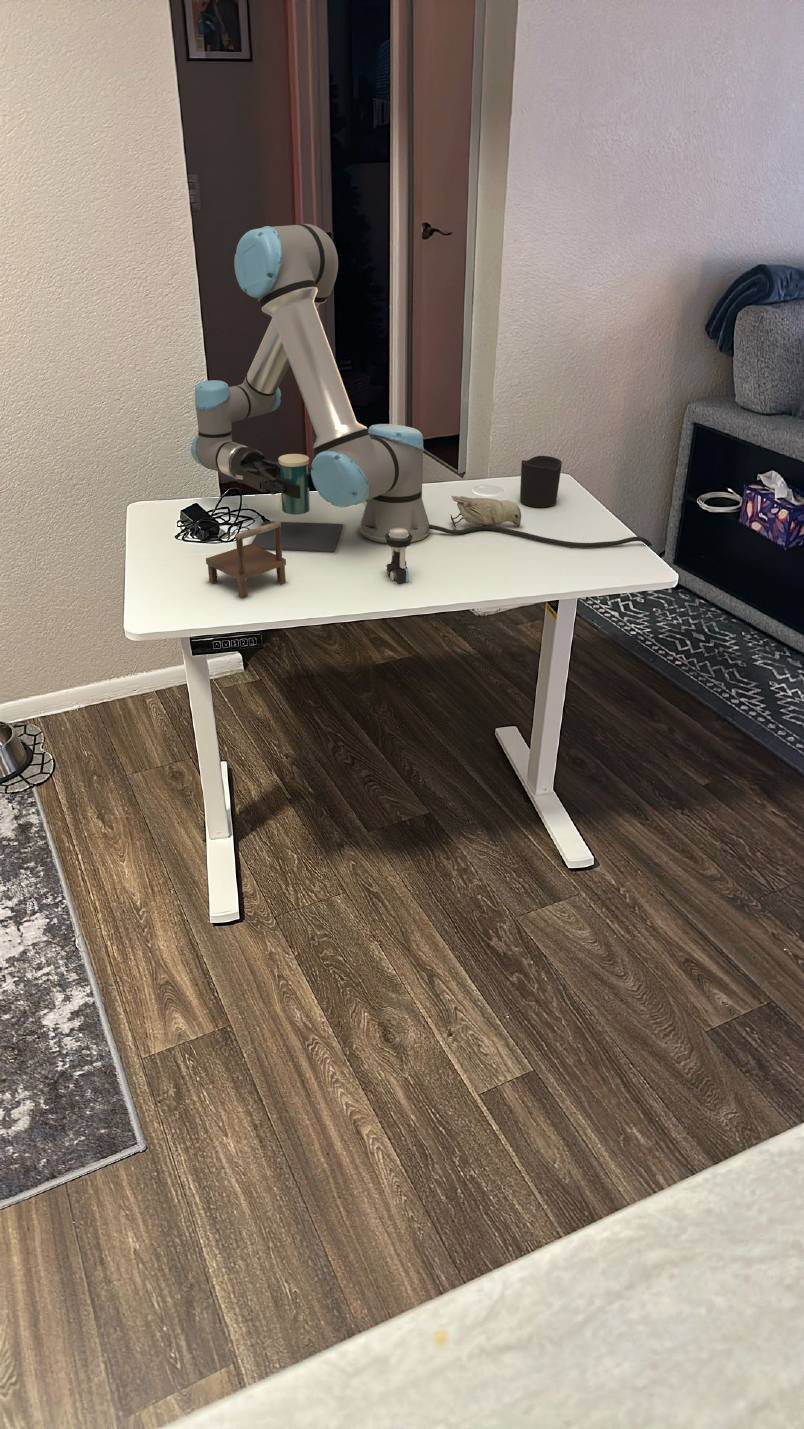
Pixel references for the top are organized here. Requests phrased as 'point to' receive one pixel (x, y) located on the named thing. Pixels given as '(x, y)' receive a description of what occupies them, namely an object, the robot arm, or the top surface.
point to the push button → (398, 553)
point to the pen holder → (540, 481)
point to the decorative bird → (487, 511)
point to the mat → (301, 537)
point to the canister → (295, 482)
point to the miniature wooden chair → (249, 559)
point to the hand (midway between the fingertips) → (310, 488)
